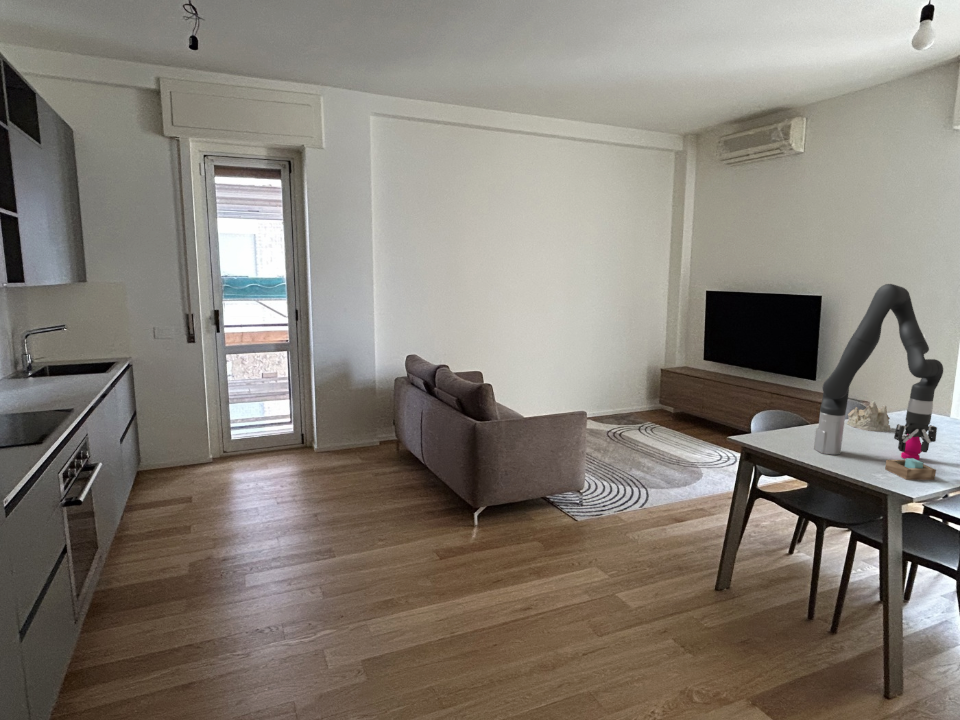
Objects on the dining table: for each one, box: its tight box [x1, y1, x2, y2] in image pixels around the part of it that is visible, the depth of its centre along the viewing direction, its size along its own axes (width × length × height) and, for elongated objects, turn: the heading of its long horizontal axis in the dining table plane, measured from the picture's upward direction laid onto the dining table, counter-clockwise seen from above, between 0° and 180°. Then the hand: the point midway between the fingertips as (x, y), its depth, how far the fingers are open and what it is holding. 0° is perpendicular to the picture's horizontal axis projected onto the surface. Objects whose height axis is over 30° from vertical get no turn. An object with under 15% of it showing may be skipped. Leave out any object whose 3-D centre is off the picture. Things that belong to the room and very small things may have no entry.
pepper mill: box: [900, 434, 923, 461], centre depth 238 cm, size 7×7×20 cm
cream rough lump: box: [846, 400, 892, 433], centre depth 285 cm, size 16×16×15 cm
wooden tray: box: [885, 459, 937, 481], centre depth 220 cm, size 11×11×4 cm
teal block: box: [904, 458, 924, 468], centre depth 219 cm, size 5×3×5 cm, turn 1°
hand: (912, 451), depth 219 cm, fingers open, 8 cm apart
